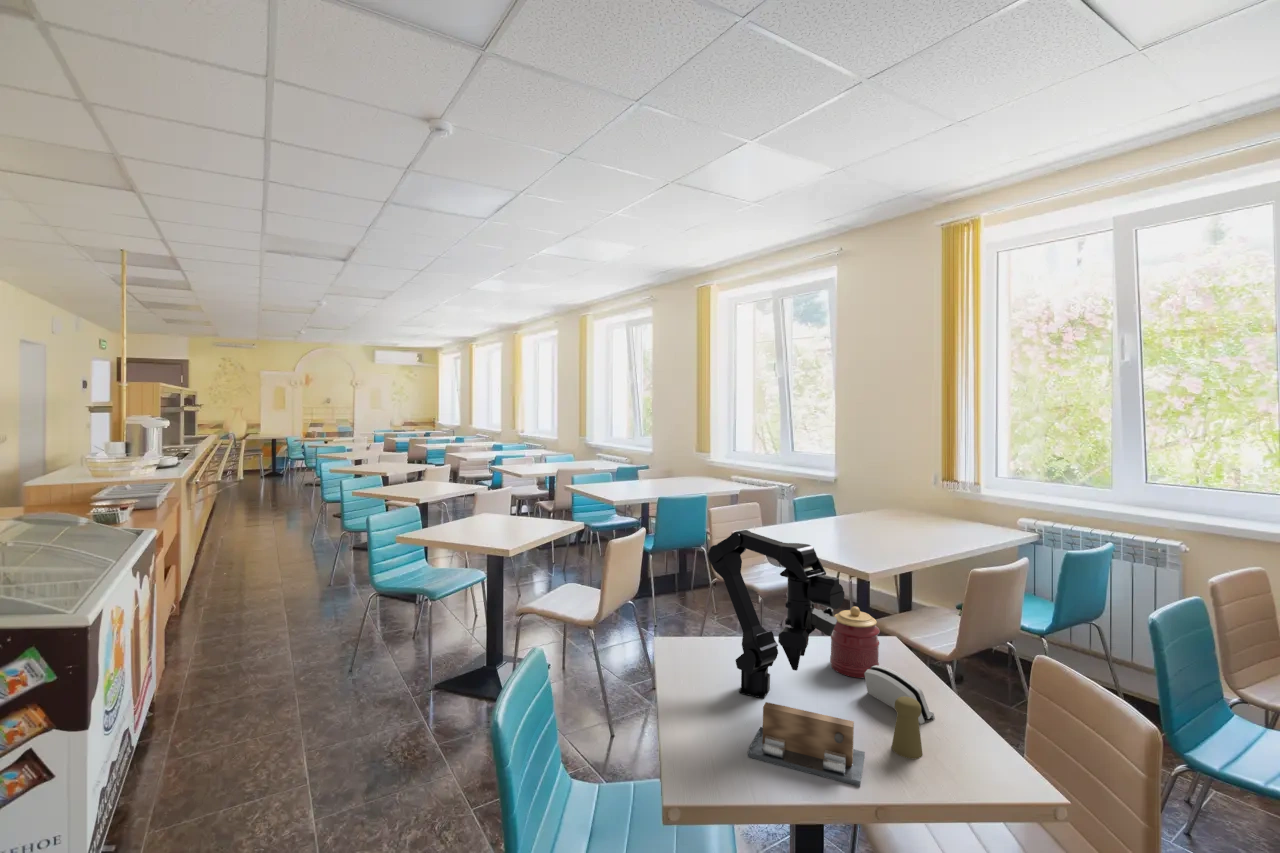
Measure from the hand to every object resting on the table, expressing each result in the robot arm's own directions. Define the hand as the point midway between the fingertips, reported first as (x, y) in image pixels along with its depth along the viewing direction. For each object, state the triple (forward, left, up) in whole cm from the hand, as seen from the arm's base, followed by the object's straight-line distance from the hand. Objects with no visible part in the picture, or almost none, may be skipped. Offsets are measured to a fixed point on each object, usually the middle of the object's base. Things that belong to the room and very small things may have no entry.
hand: (798, 662), depth 140 cm
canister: (+10, +32, -12) cm, 36 cm away
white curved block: (+21, +14, -12) cm, 28 cm away
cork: (+24, -6, -12) cm, 28 cm away
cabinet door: (+5, -18, -11) cm, 22 cm away
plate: (+5, -18, -12) cm, 22 cm away
